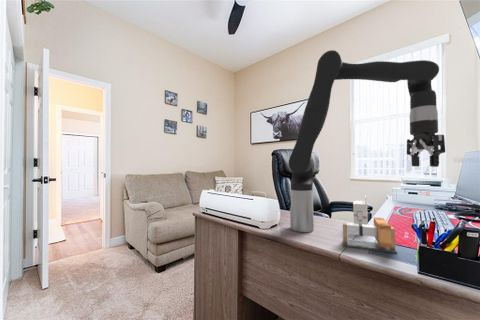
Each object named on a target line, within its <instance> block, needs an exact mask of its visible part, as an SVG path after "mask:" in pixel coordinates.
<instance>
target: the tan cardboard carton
mask: <svg viewBox="0 0 480 320" xmlns="http://www.w3.org/2000/svg"><path fill="white" fill-rule="evenodd" d="M373 225H377V226H378V237H374V238H375V240H376V241H377V242H376V243H378V244H379V246H380V247H387V248H392V242H391V227H392V226H391V225H390V223H389V222H387V220H386V219H385V218H383V217H373Z"/></svg>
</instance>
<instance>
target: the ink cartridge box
mask: <svg viewBox="0 0 480 320" xmlns="http://www.w3.org/2000/svg"><path fill="white" fill-rule="evenodd" d="M352 206H353V207H352V208H353V223H354V224H358V223H360V224H366V225H369V223H368V200H367V194H365V195H364V200H354V201H353V203H352Z"/></svg>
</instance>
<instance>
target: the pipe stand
mask: <svg viewBox="0 0 480 320" xmlns="http://www.w3.org/2000/svg"><path fill="white" fill-rule="evenodd" d="M348 235H354V236H355V235H356V236H359V237H364V236H365V237H373V238H375V237H378V226H377V225H374V224H368V225H366V224H360V223H358V224H354V222H353V223H351V222H342V245H343V247H345V248H350V249H351V248H352V249H359V250H366V251H367V250H368V251H375V252H384V253H391V254H398V251H397V249H396V229H395V228H394V227H393V226H391V242H392V248H387V247H380V246H379V244H378V242H373V241H372V242H371V241H362V240H361V241H360V240H352V239H348Z"/></svg>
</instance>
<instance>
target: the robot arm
mask: <svg viewBox="0 0 480 320" xmlns="http://www.w3.org/2000/svg"><path fill="white" fill-rule="evenodd" d="M315 71H316V72H315V76H314V81H313V85H312V87H311V90H310V93H309V96H308V99H307V101H306V102H307V103H306V105H305V108H304V112H303V115H302V117H301V122H300V127H299V129H298V134H297V137H296V142H295V144H294V147H293V148H292V151H291V155H290V156H289V159H288V167H289V170H290V171H291V182H290V207H289V215H290V217H289V219H290V224H289V225H290V231H295V232H300V233H312V232H314V226H315V225H314V198H313V197H314V194H313V185H314V163H313V162H314V161H313V159H312V153H313V150H314V147H315V143H316V140H317V139H318V137H319V136H320V134H321V132H322V129H323V127H324V125H325V122H326V120H327V116H328V112H329V107H330V103H331V94H332V89H333V86H334V82H335V80H336V81H337V80H339V81H340V80H361V81H362V80H364V81H373V82H375V81H376V82H383V83H397V82H400V81H407V88H408V89H407V90H408V94H409V97H410V98H409V99H410V100H409V109H410V111H409V134H410V135H411V136H413V138H408V139H407V140H406V155H408V156H410V157H411V162H410V163H411V167H419V166H420V154H421V152H423V151H424V150H425V151H427V152H428V154H429V166H430V167H432V168H434V167H435V168H436V167H437V168H438V167H439V165H440V156H441V154H445V153H446V143H445V142H446V141H445V135H444V134H437V133H439V113H438V107H437V93H436V90H433V89H432V81H433V80H434V79H435V78H436V77H437V76H438V74H439V72H440V67H439V64H437V63H436V62H435V61H431V60H424V59H423V60H420V59H419V60H410V61H409V60H408V61H403V62H402V61H401V62H400V61H389V60H374V61H369V62H368V61H367V62H363V63H348V62H344V61H343V59H342V56H341V53H339V52H338V51H337V50H334V49H333V50H332V49H331V50H327V51H325V52H324V53H323V54H322V55H321V56H320V57H319V59H318V61H317V64H316V70H315ZM439 146H440V147H439Z"/></svg>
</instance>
